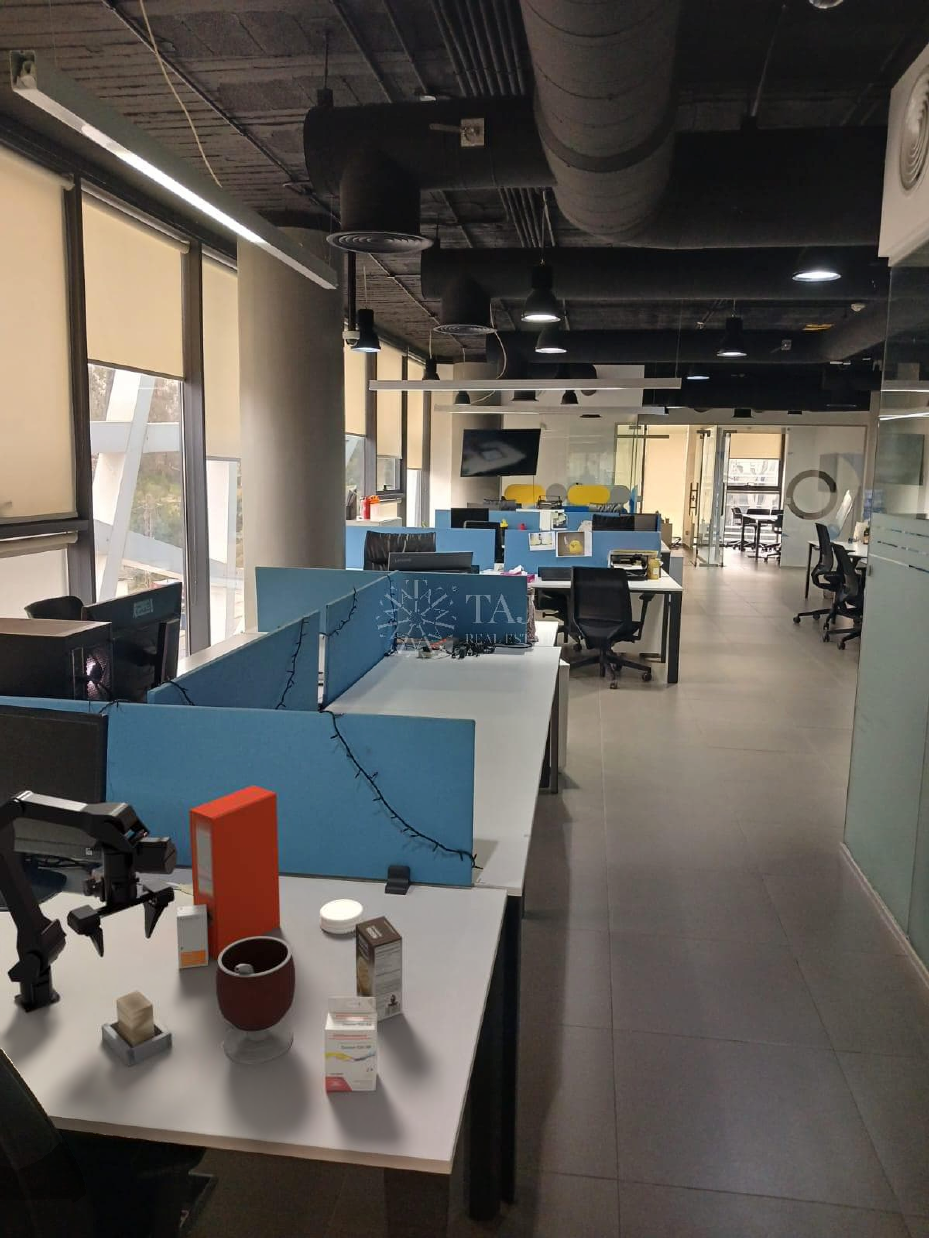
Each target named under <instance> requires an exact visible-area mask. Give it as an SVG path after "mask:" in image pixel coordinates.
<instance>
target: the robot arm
mask: <svg viewBox="0 0 929 1238" xmlns="http://www.w3.org/2000/svg"><path fill="white" fill-rule="evenodd" d="M20 818H21V819H26V820H31V821H35V822H36V821H37V822H42V823H47V824H51V825H57V826H61V827H67V828H72V829H76V830H80V831H82V832H84V834H86V835H87V836H88V837H89V838H91V839H93V840H96V842H95V843H94V844H93V845H91V846H90V848H89V850H90V852H99V853H100V852H101V855H102V856H101V857H102V858H101V859H102V870H103V871H102V872H103V874H101V875H100V878H97V879H96V878H95V877H89V878H86V879H83V880H82V891H83V895H84V896H85V897H92V896H93V897H94V898H95V899H97V898H99V901H100V902H101V904H102V903H105V905H103V906H100V907H98V908H95V909H94V908H93V907H92V906H91V905H90V904H86V905H83V906H80V907H77V908H74V909H71V910H69V912H68V913H67V916H66V923H67V924H66V925H67V926H68V927H69V928H70V929H72V930H73V932H75V933H76V935H78V936H85V938H86V937H89V938H90V941H91V942H92V944H93V947H94V948H95V950H96V953H97V954H98V956H99V957H100V958H104V955H105V945H104V944H105V943H104V929H103V928H102V927H101V925H102V922H101V919H103V918H106V917H109V916H111V915H114V914H118V913H119V912H122V911H125V910H128V909H131V908H133V907H136V906H139V905H141V904H142V906H143V909H144V911H143V912H144V934H145V938H147V940H148V939H151V937H152V935H153V932H154V930H155V929H156V925H157V923H158V921H159V920H160V918H161V915H162V914H163V912H164V910H165V909H167V908H168V907H169V906H170V905H169V904H170V903H172V902H174V901H175V899H176V898H175V897H176V896H175V891H174V887H172V886H171V885H170V884H169V883H166V882H165V881H164V880H162V879H159V878H158V879H157V880H154V881H150V882H148V883H145V884H143V885H142V887H141V891H142V892H140V893H138V883H140V876H139V875H138V874H147V875H171V874H173V872H174V871H175V869H176V866H177V863H178V860H177V859H178V849H177V848H176V845H175V844H174V843H173V842H172V837H170V836H163V837H148V836H149V835H151V831H150V830H149V828H148V827H147V826H146V825H145V824H144V822H143V821H142V820H141V819H140V818H139V817H138V815H137V812H136V811H135V810H134V808H133V806H132V805H130V804H129V803H126V802H114V801H113V802H112V801H109V802H102V803H101V802H100V803H93V804H92V803H85V802H78V801H76V800H75V801H74V800H69V799H66V798H65V799H63V798H58V797H53V796H49V795H44V794H38V793H34V792H33V791H31V790H21V791H19V792H17V793H16V794H15V795H13V796H11V797H10V798H9V799H8V800H7V801H6V802H5V803H3V804H2V805H1V806H0V895H1V896H2V899H3V901H4V903H5V905H6V908H7V909H8V912H9V914H10V916H11V919H12V921H13V923H14V925H15V929H16V930H17V931H16V932H17V933H16V943H15V944H16V945H15V946H16V947H15V948H16V953H17V956H18V961H17V962H16V963H15V964H14V965H13V966H12V967H11V968H10V969H9V970H8V971H7V976H8V978H9V980H10V982H11V983H18V984H19V994H16V995H14V1000H15V1001H16V1002H17V1004H18V1005H19V1006H20V1007H21V1008H22V1010H23V1011H24V1012H25V1013H29V1012H30V1011H33V1010H36V1009H39V1008H40V1007H44V1006H45V1005H46V1006H47V1004H50V1003H53V1002H55V1001H58V1000H60V999H61V995H60V993H58V992H57V991H56V989H55V988H54V987H53V986H54V985H53V975H52V974H53V973H52V966H51V965H52V964H53V963H54V962H55V961H56V960H58V959H59V955H60V954H61V953H62V952H63V951H64V949H65V947H66V944H67V941H66V937H67V935H68V934H67V933H66V932H65V931H64V930H63V927H62V923H61V921H60V919H59V918H55V919H53V920H51V919H50V918H48V917H46V915H44V913H43V912H42V910H41V909H42V908H41V907H40V905H39V903H38V900H37V897H36V896H35V893H34V892H33V889H32V887H31V885H30V882H29V880H28V877H27V874H26V873H25V870H24V869H23V867H22V864H21V862H20V860H19V858H18V856H17V853H16V850H15V844H16V843H15V842H16V829H15V825H14V823H13V822H14V821H16V820H17V819H20ZM130 832H133V833H132V834H131V835H130V836H129V837H128V838H127V837H126V836H127V835H128V834H129V833H130ZM137 873H138V874H137Z"/></svg>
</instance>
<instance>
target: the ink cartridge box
mask: <svg viewBox="0 0 929 1238" xmlns="http://www.w3.org/2000/svg"><path fill="white" fill-rule="evenodd" d="M352 1002H353V1003H355V1004H359V1005H345V1004H350V1003H352ZM326 1016H327V1017H326V1022H325V1028H324V1057H325V1058H324V1067H325V1068H324V1072H325V1073H324V1074H325V1075H324V1077H325V1079H324V1080H325V1083H324V1084H325V1085H324V1086H325V1092H338V1091H339V1092H361V1091H362V1092H373V1091H375V1092H376V1088H377V1087H376V1086H377V1075H378V1074H377V1073H378V1033H377V1032H378V1021H377V1013H376V999H375V998H374V997H357V996H329V997H328V1012H327V1015H326Z"/></svg>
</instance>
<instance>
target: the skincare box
mask: <svg viewBox="0 0 929 1238" xmlns="http://www.w3.org/2000/svg"><path fill="white" fill-rule="evenodd" d="M176 932H177V933H176V935H177V955H178V956H177V957H178V959H177V960H178V969H179V970H182V969H189V968H196V967H205V966H209V955H208V929H207V904H203V905H194V904H193V905H192V904H191V905H188V906H181V907H179V906H178V907H177V908H176Z"/></svg>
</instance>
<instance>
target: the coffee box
mask: <svg viewBox="0 0 929 1238" xmlns="http://www.w3.org/2000/svg"><path fill="white" fill-rule="evenodd" d="M355 926H356V930H355V972H356V973H355V974H356V975H355V977H356V978H355V981H356V984H355V985H356V987H355V988H356V989H355V990H356V997H374V998H375V999H376V1013H377V1022H381V1021H383V1020H386V1019H390V1018H391V1017H392V1018H393V1017H394V1016H397V1015H400V1014H403V936H402V935H401V933H399V931H397V929H396V928H395V927H394V926H393V925H392V924H391V922H390V921H389V919H387V918H386V916H385V915H383V916H379V917H376V918H372V919H368V920H364V922H362V923H358V924H356V925H355Z"/></svg>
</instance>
